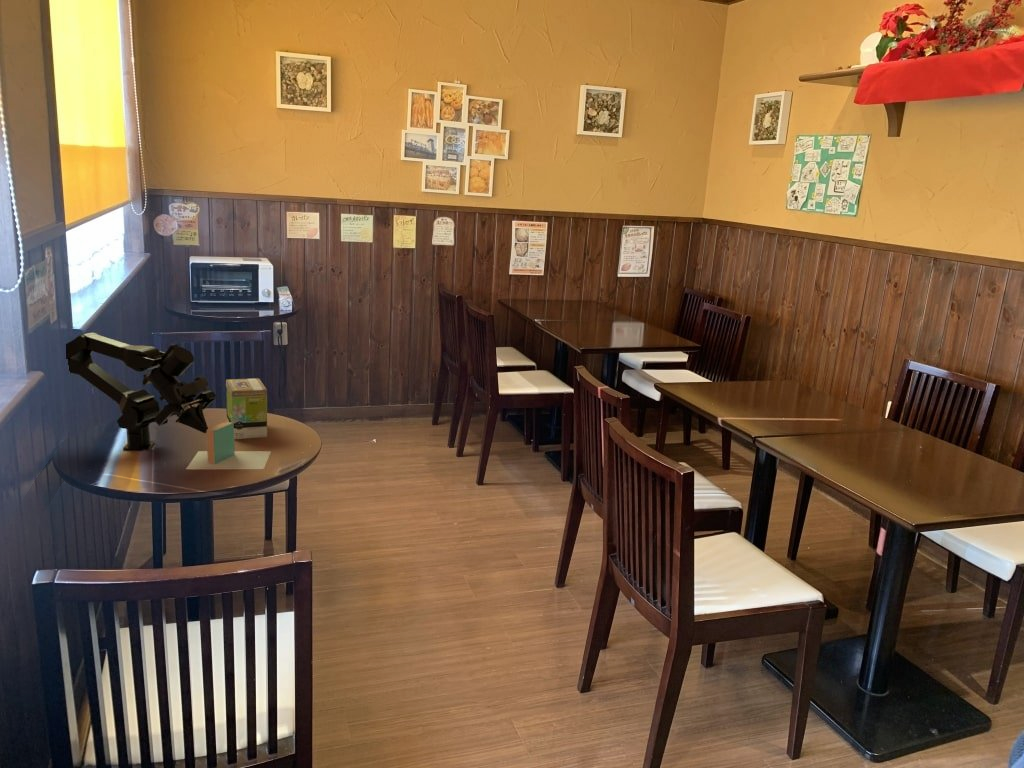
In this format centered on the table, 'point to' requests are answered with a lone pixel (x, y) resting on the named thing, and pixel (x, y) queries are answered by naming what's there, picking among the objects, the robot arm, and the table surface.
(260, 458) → the mat
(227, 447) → the tile
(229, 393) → the tea box
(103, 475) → the table surface
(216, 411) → the table surface
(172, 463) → the table surface
